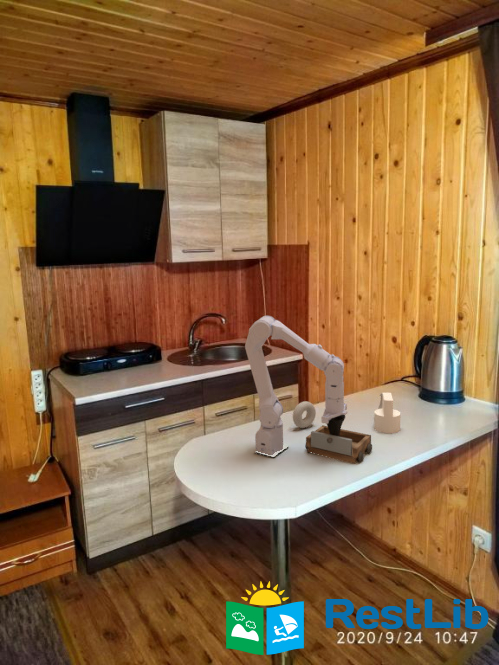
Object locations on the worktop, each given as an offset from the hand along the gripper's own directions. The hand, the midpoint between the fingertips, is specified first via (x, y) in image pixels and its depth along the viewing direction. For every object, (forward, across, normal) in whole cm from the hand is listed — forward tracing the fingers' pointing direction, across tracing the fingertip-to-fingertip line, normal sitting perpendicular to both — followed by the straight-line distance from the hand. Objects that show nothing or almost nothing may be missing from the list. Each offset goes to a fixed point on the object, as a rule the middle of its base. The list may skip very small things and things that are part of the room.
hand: (334, 437), depth 152 cm
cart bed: (+6, +3, 0) cm, 6 cm away
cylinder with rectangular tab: (+6, +29, -7) cm, 30 cm away
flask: (+6, +37, -3) cm, 37 cm away
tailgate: (+4, -3, 0) cm, 5 cm away
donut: (+6, +15, +19) cm, 25 cm away
